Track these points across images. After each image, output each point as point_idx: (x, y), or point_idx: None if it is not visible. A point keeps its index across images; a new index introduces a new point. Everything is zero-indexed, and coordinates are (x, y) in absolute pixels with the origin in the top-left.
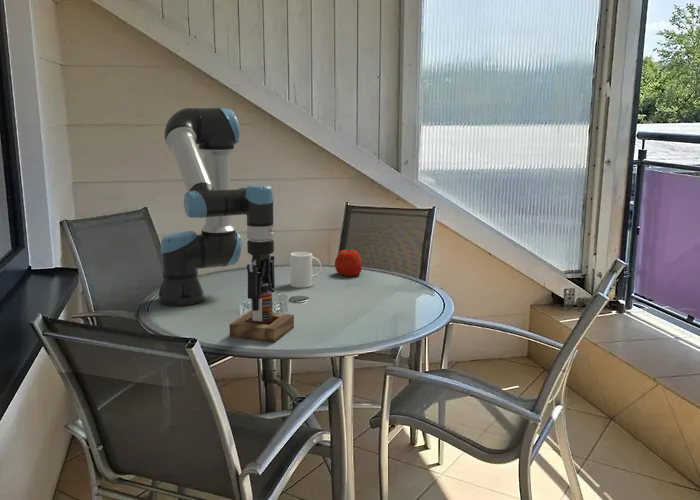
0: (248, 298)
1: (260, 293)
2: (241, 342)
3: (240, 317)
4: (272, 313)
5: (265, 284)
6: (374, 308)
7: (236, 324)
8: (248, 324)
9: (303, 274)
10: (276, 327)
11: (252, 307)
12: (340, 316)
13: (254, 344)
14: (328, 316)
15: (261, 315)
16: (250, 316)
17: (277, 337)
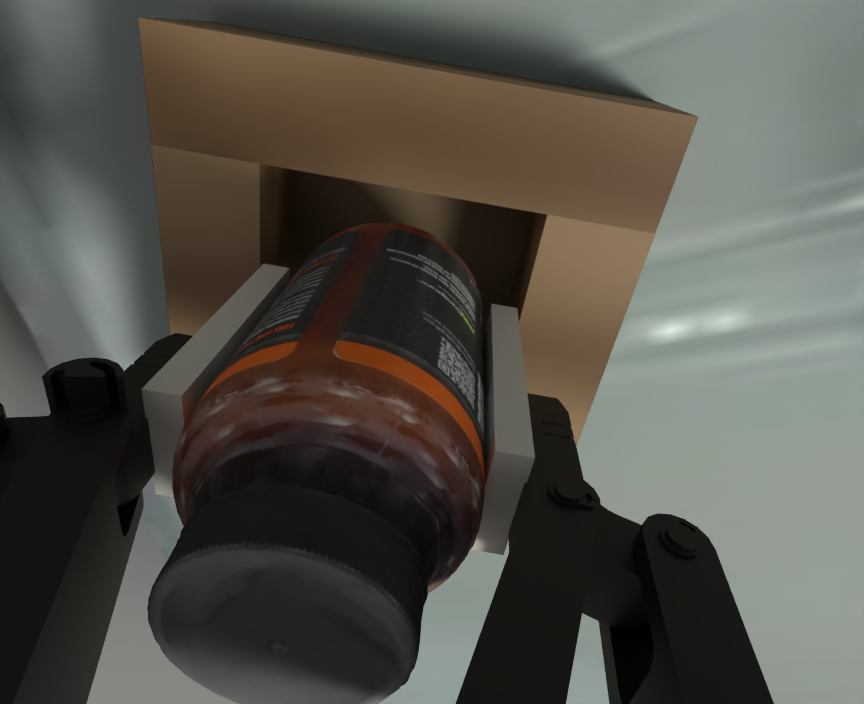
0: (71, 361)
1: (128, 558)
2: (143, 171)
3: (400, 70)
4: (581, 363)
5: (287, 690)
6: None
7: (158, 109)
8: (207, 233)
9: None
10: None
11: (147, 350)
12: (776, 635)
13: (147, 278)
14: (786, 588)
15: None
16: (456, 179)
17: None
